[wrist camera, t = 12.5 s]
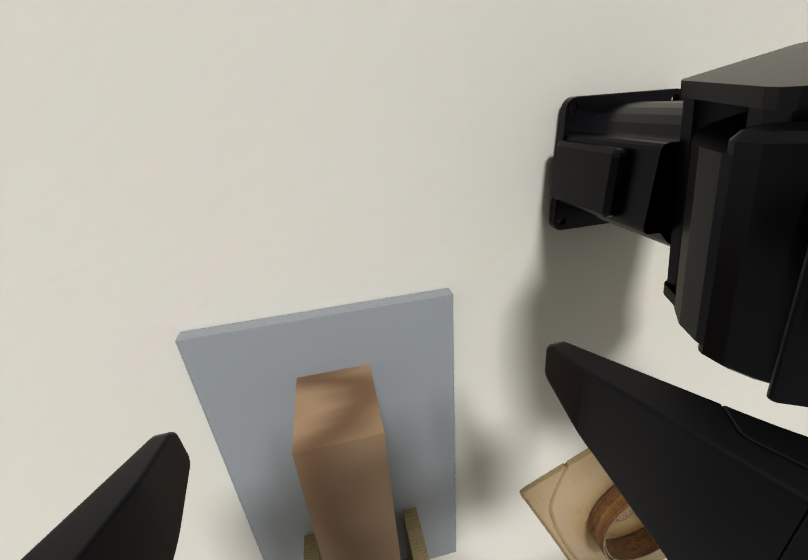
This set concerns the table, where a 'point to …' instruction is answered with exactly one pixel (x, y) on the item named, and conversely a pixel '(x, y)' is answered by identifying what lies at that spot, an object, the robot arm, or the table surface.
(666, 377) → the table surface
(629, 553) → the board
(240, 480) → the mounting board
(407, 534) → the cup bracket
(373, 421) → the walnut rail
